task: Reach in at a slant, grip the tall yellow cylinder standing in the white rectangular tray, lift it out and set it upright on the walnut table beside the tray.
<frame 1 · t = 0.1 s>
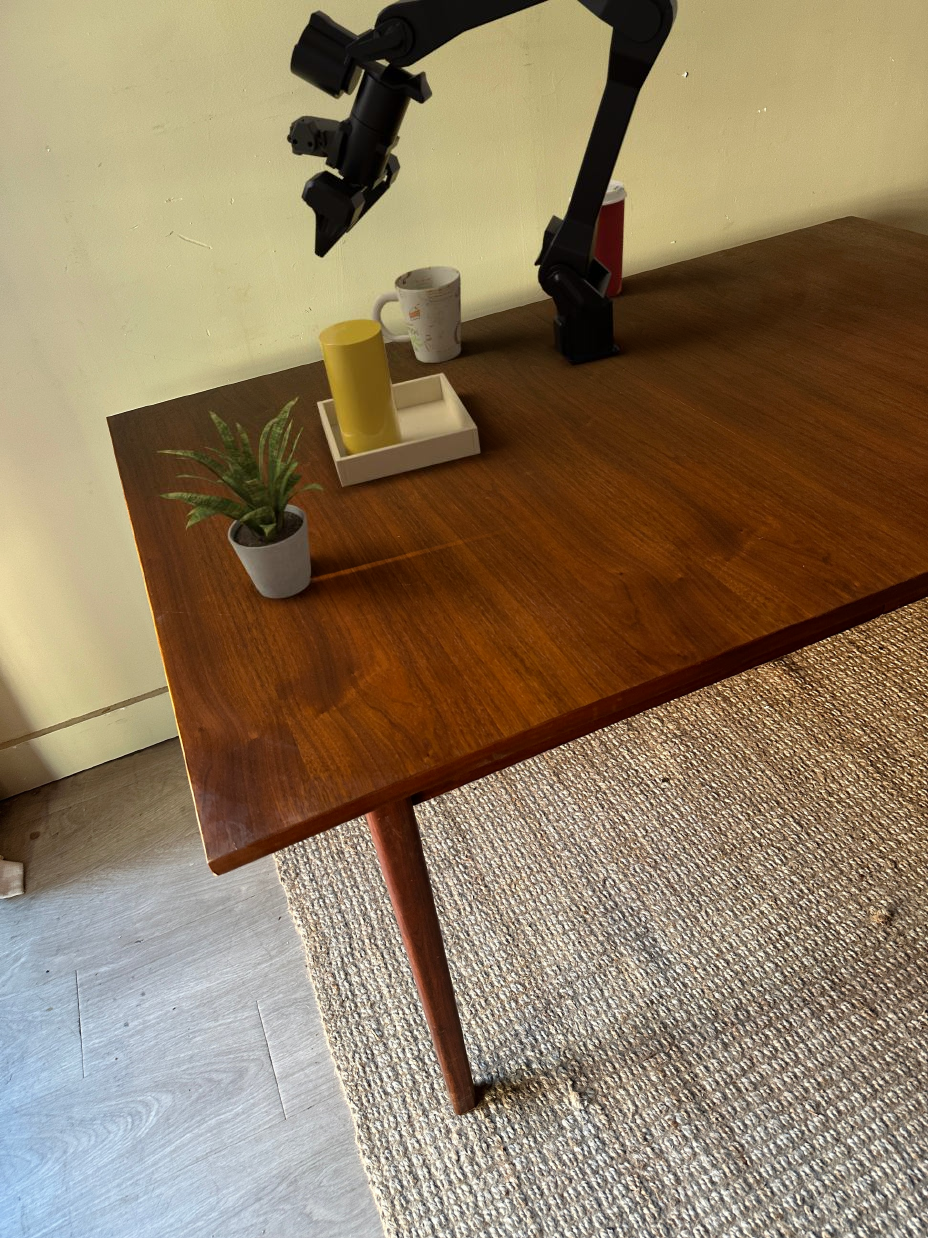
hand: (331, 242, 115), 15 cm above the table, tool tilted 35°, fingers open, 9 cm apart
white rectangular tray: (398, 442, 103), on the table
yellow cylinder: (375, 454, 101), resting on white rectangular tray
paper cup: (601, 292, 131), on the table
mug: (423, 355, 122), on the table
house plant: (286, 574, 86), on the table
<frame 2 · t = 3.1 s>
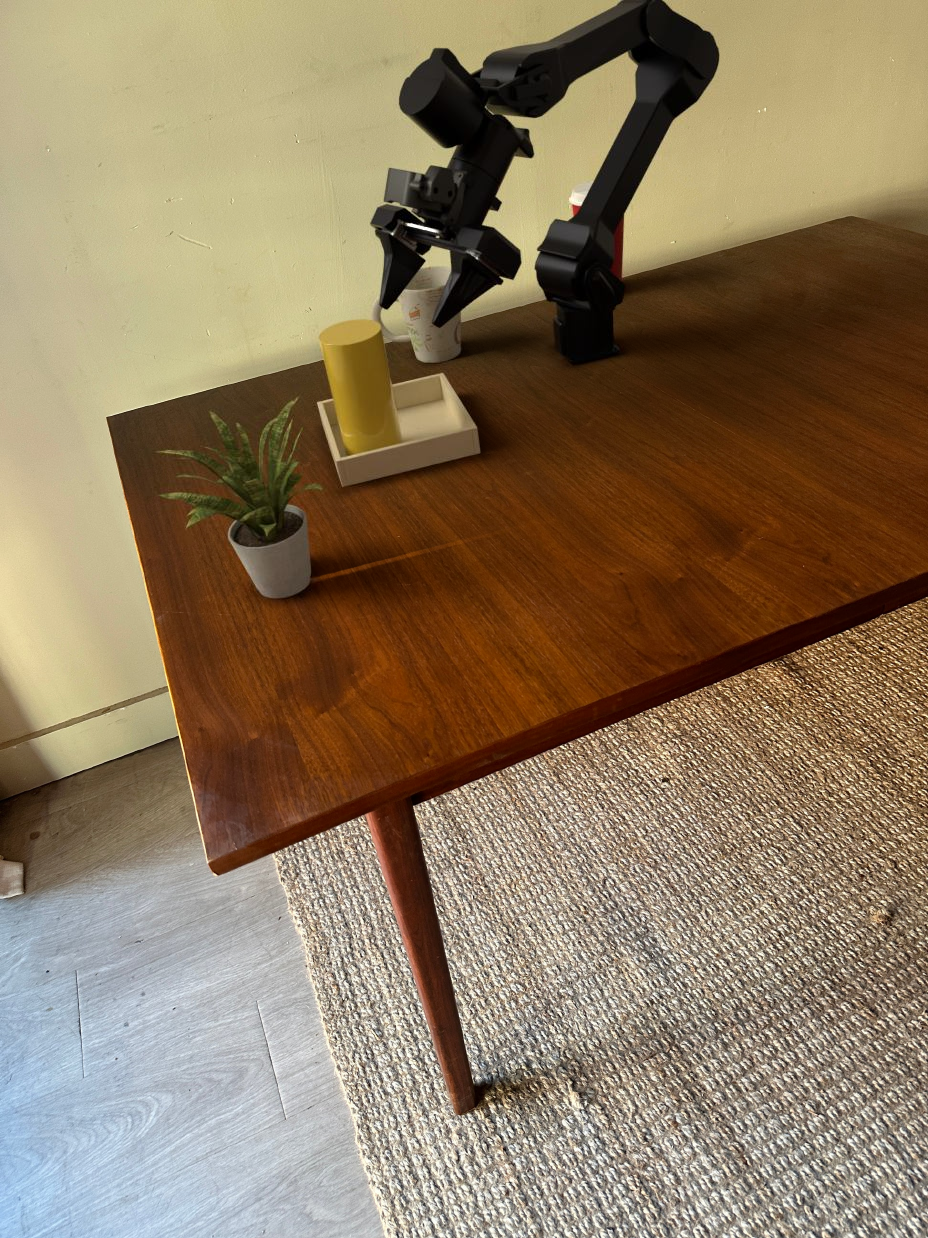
hand: (408, 316, 96), 13 cm above the table, tool tilted 45°, fingers open, 9 cm apart
nothing on the table moved.
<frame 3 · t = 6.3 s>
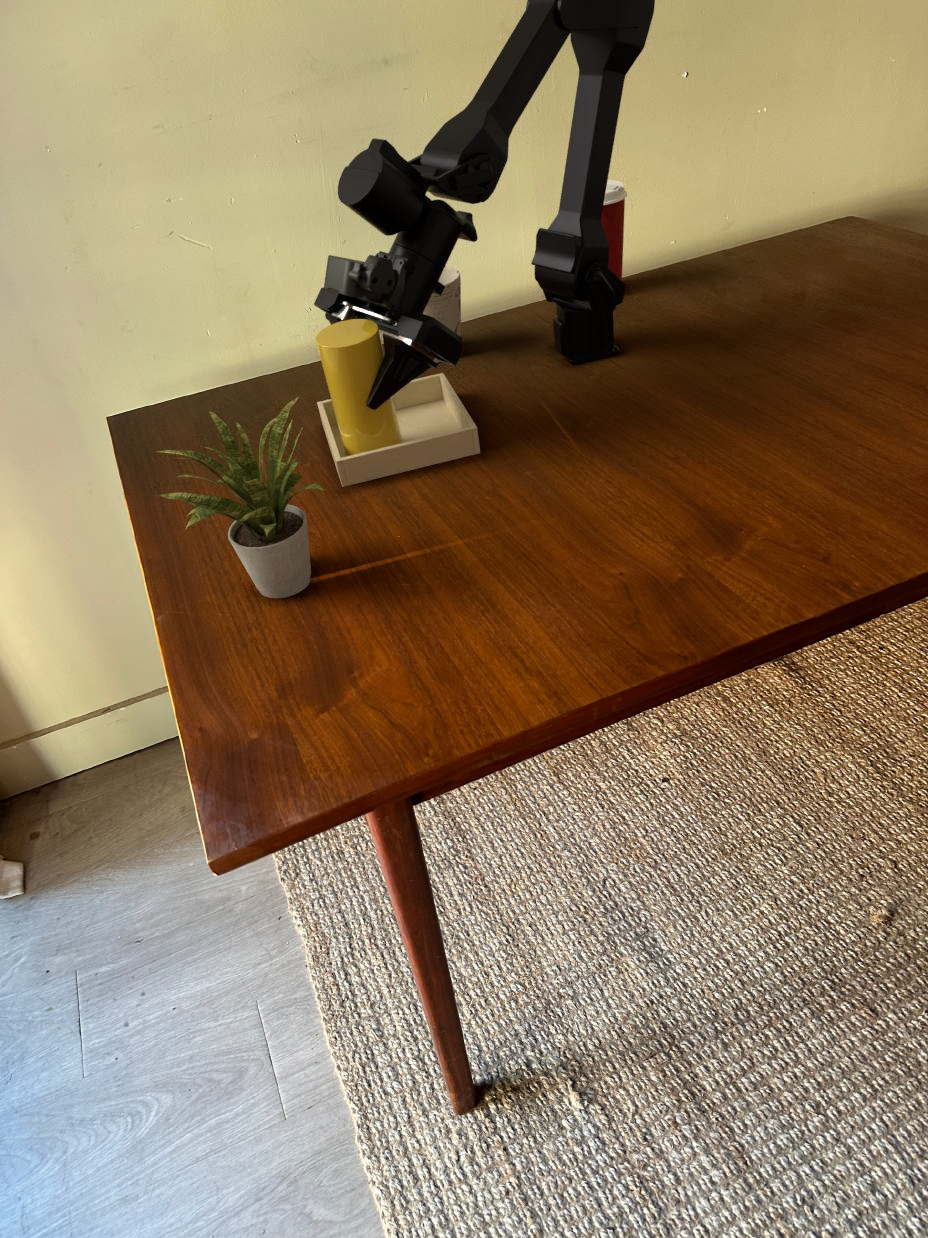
hand: (351, 399, 96), 8 cm above the table, tool tilted 45°, fingers closed on yellow cylinder, 6 cm apart
yellow cylinder: (375, 453, 101), point 1 cm above the table, touching gripper, white rectangular tray
everything else where it was.
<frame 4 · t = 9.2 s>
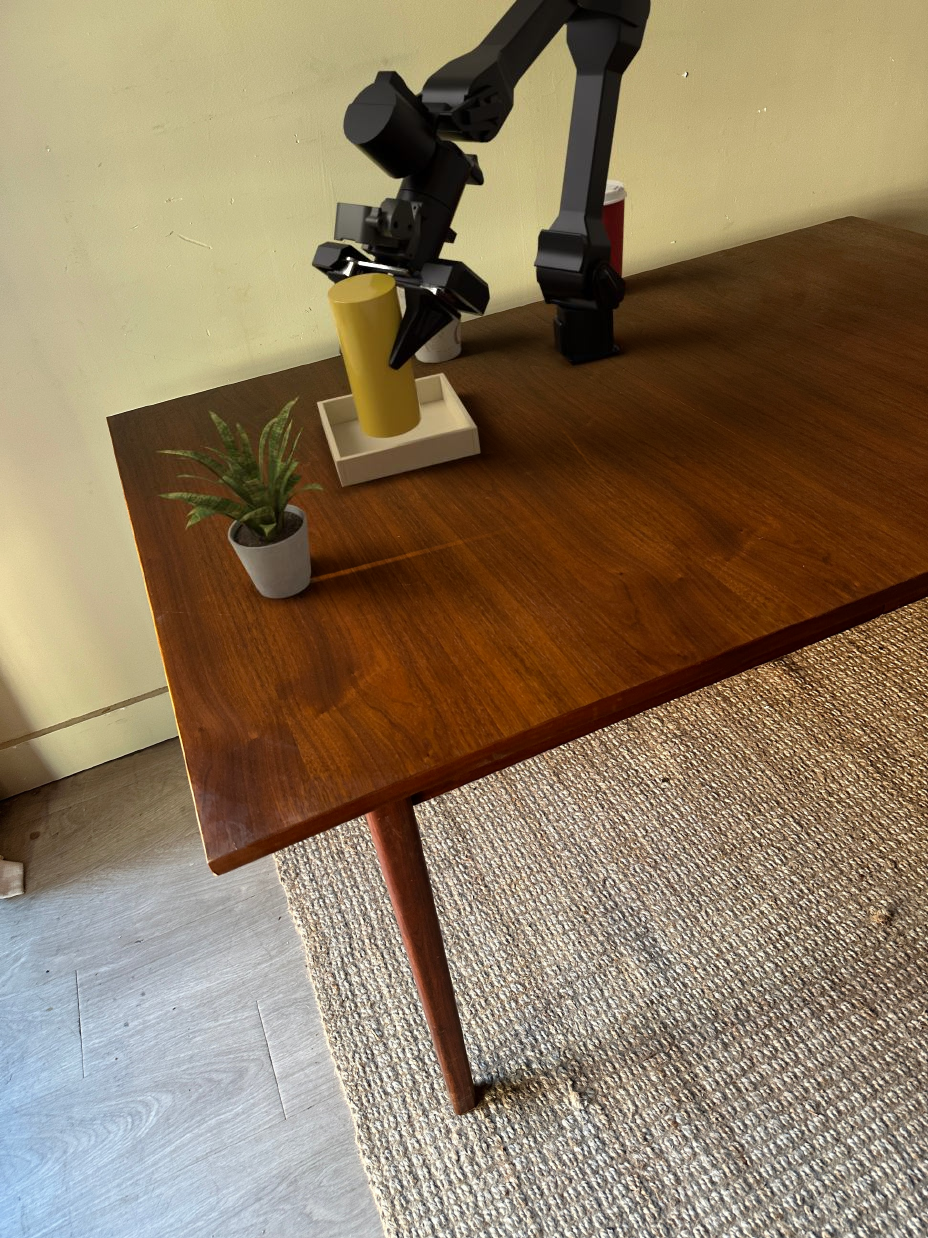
hand: (367, 362, 88), 13 cm above the table, tool tilted 45°, fingers closed on yellow cylinder, 6 cm apart
yellow cylinder: (391, 421, 93), point 6 cm above the table, touching gripper
everything else where it was.
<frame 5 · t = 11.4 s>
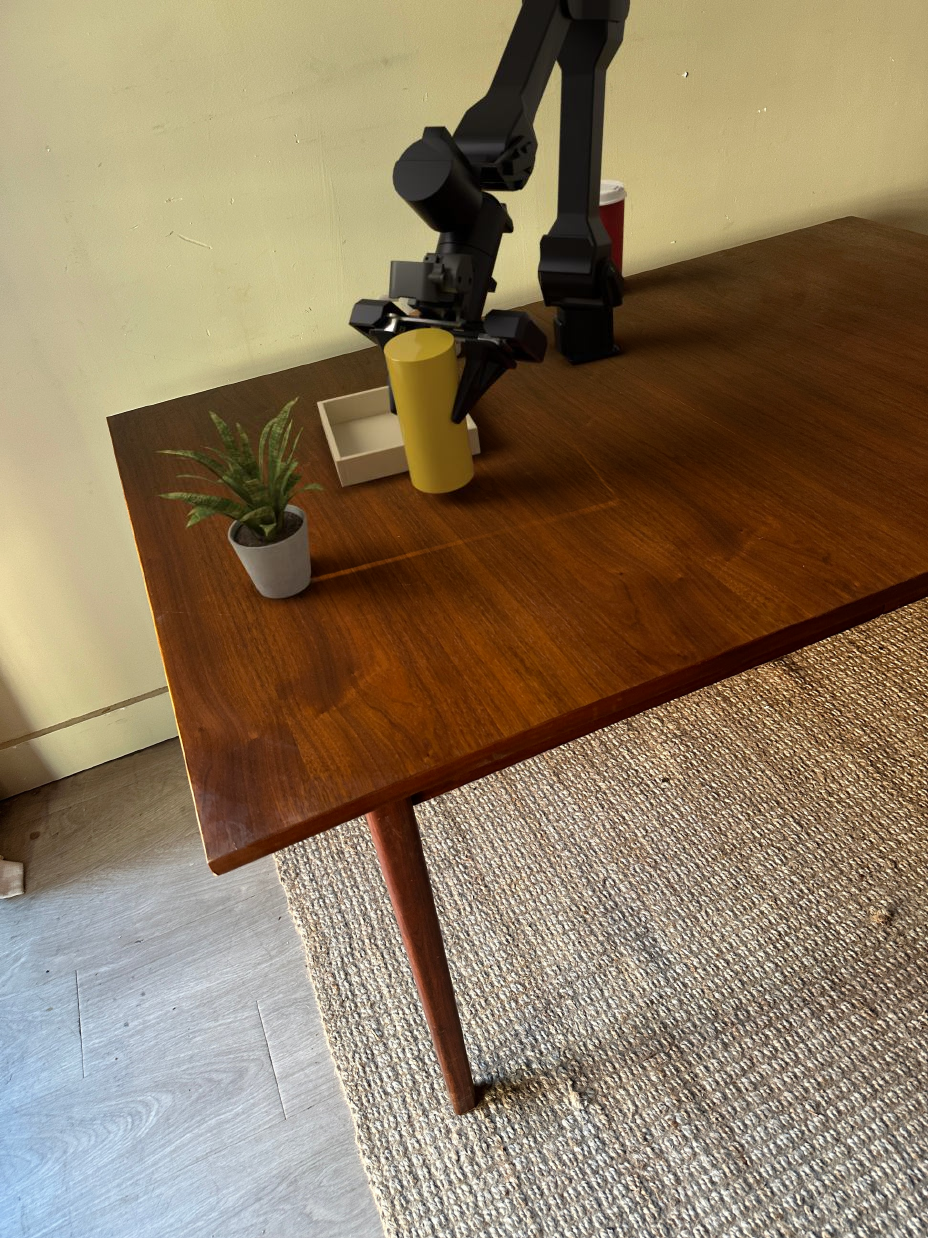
hand: (424, 418, 86), 10 cm above the table, tool tilted 45°, fingers closed on yellow cylinder, 6 cm apart
yellow cylinder: (442, 474, 92), point 2 cm above the table, touching gripper
everything else where it was.
when the fingers open (7 cm above the table, at t = 12.7 s): yellow cylinder stays where it is, on the table.
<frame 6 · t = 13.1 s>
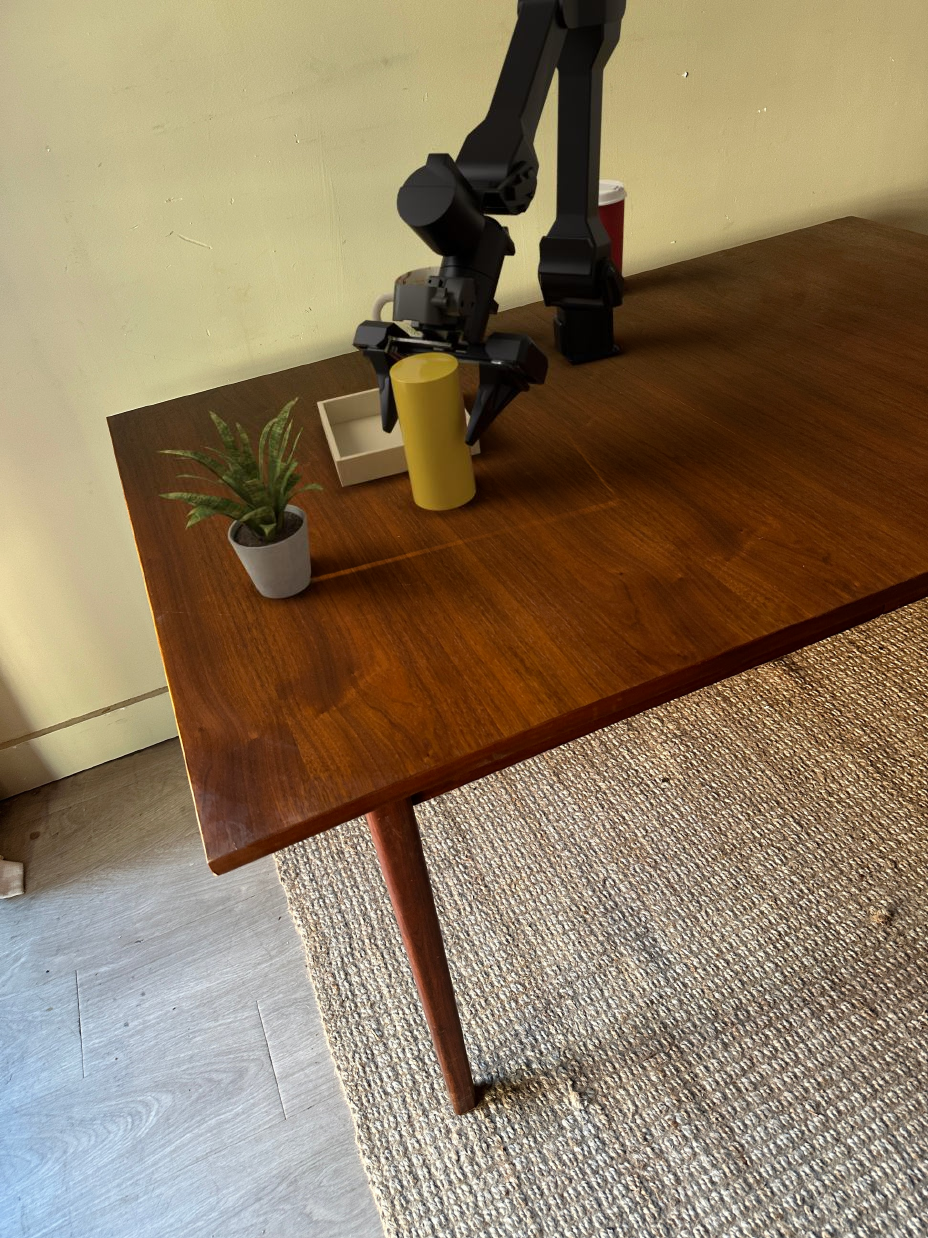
hand: (426, 438, 87), 8 cm above the table, tool tilted 45°, fingers open, 9 cm apart
yellow cylinder: (445, 496, 93), on the table
everything else where it was.
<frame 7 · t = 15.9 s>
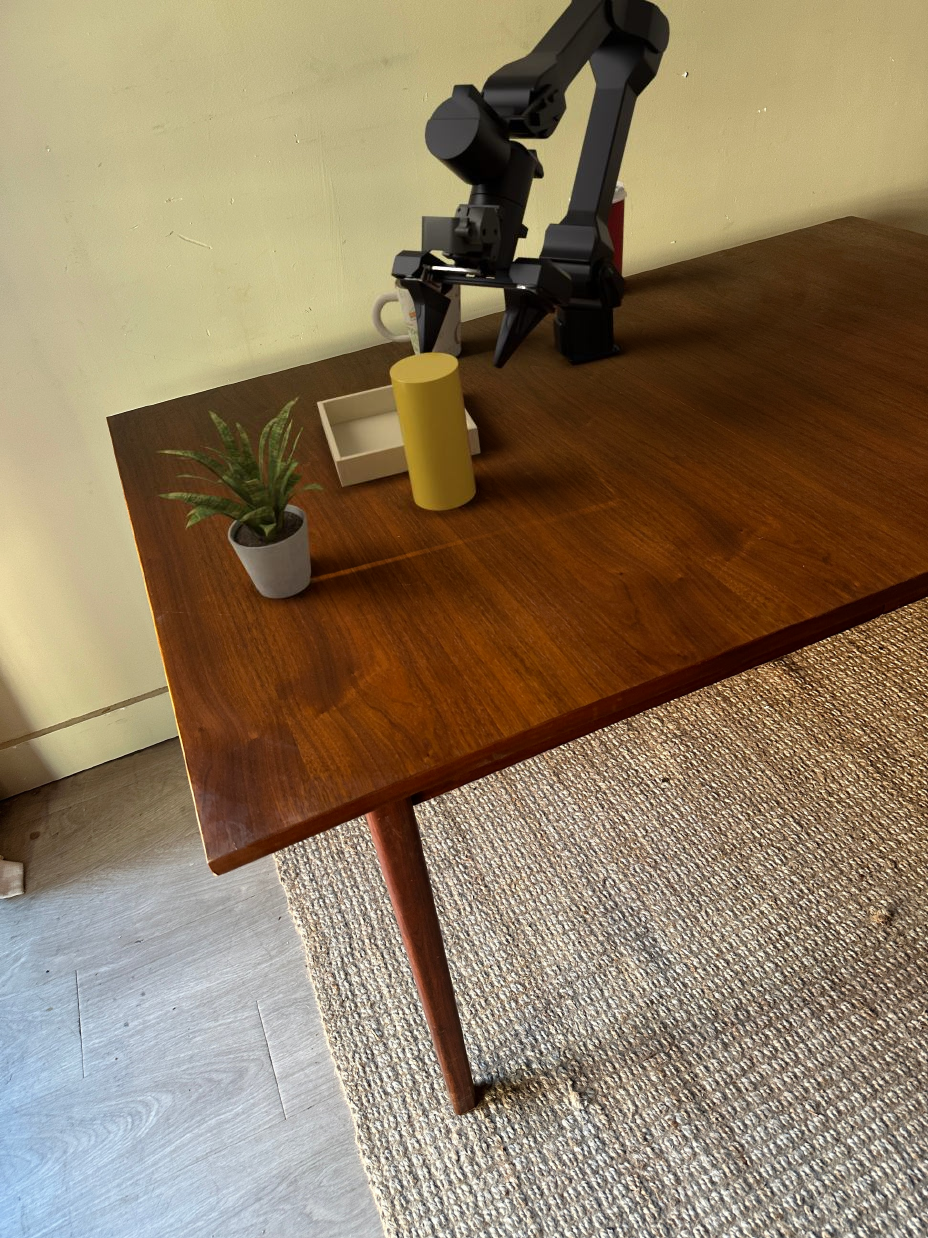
hand: (459, 362, 93), 10 cm above the table, tool tilted 40°, fingers open, 9 cm apart
nothing on the table moved.
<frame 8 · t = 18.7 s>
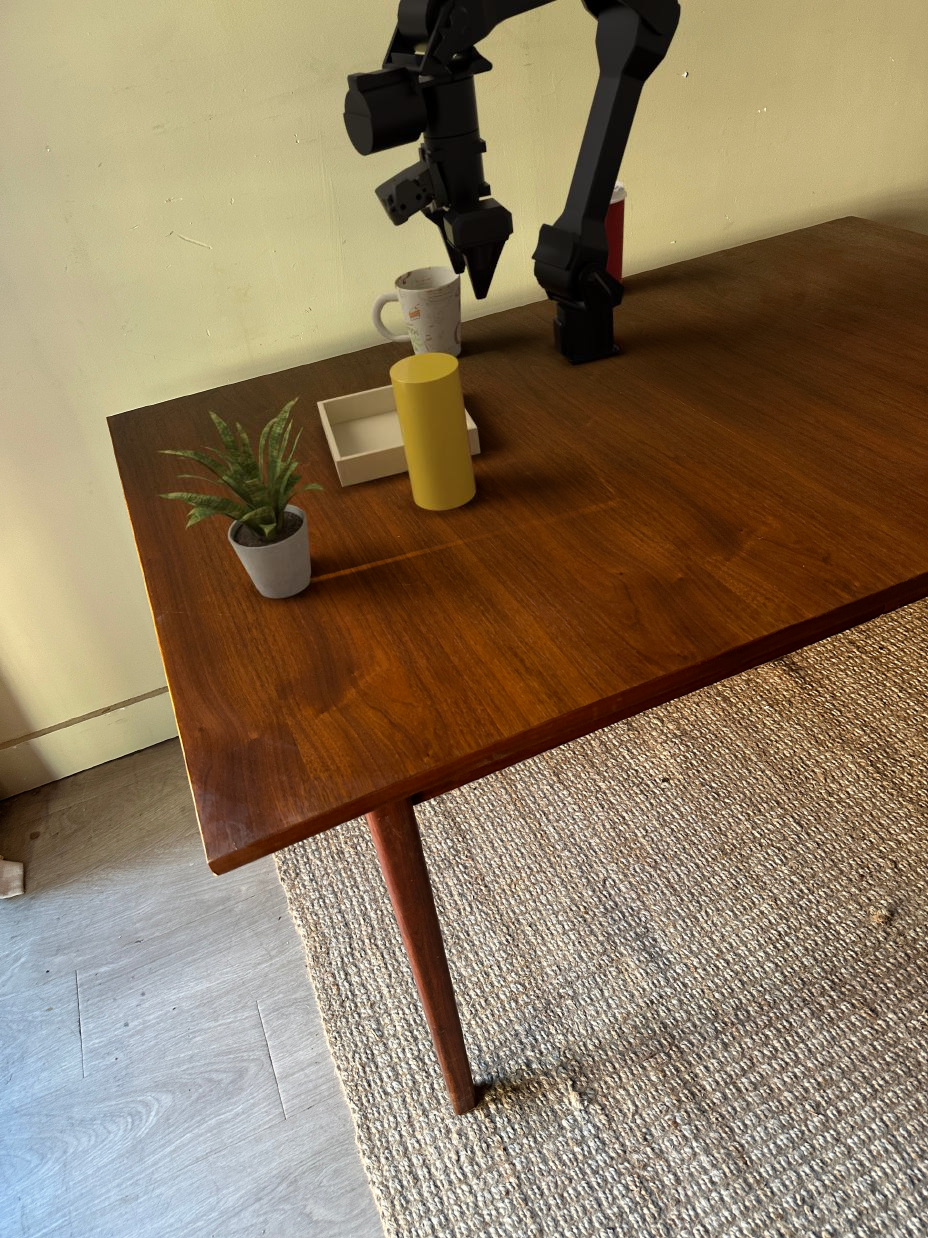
hand: (470, 285, 102), 13 cm above the table, tool pointing down, fingers open, 9 cm apart
nothing on the table moved.
at the end: yellow cylinder inside the target area (0.2 cm from its centre), on the table; yellow cylinder tilted 0° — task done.
